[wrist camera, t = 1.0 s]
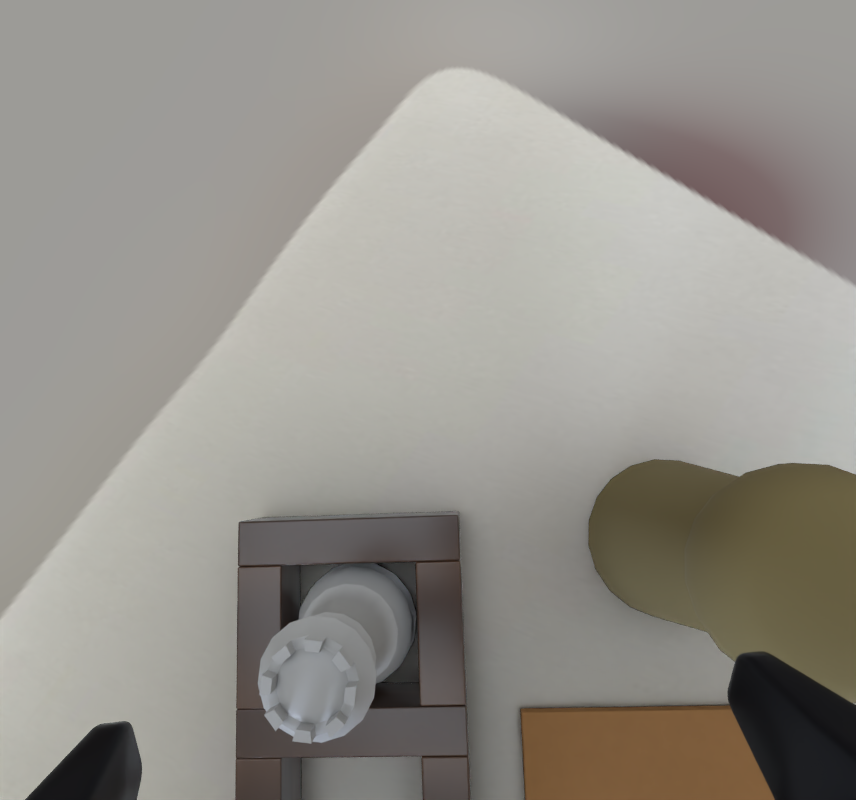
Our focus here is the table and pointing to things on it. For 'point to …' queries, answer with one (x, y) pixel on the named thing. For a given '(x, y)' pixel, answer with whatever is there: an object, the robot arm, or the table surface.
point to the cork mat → (638, 754)
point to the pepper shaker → (739, 558)
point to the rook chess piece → (336, 652)
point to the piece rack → (393, 702)
